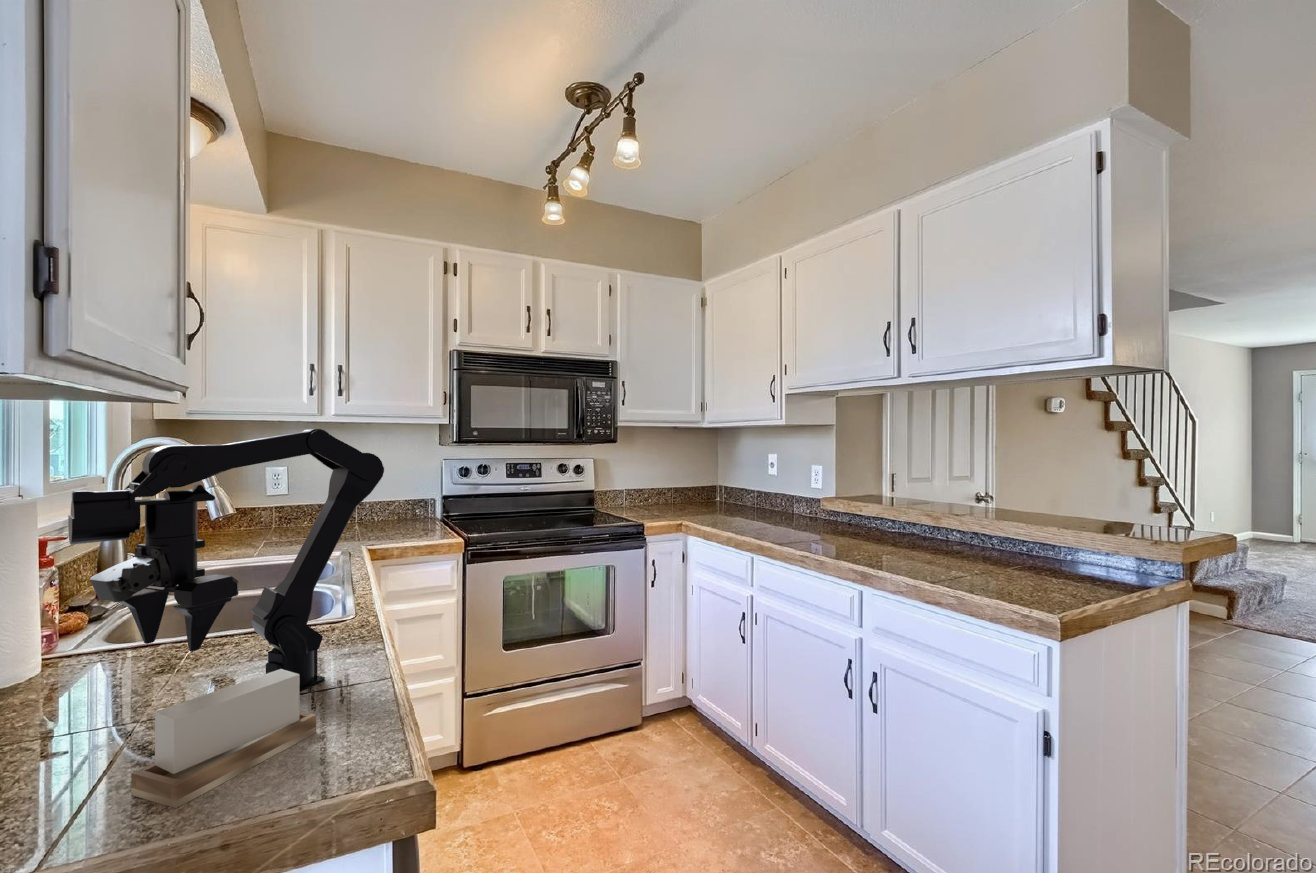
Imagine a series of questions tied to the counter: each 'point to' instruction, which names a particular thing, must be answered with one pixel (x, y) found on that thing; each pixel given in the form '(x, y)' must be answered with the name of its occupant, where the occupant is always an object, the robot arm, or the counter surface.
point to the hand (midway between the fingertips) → (171, 646)
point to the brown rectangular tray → (217, 766)
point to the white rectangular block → (225, 719)
